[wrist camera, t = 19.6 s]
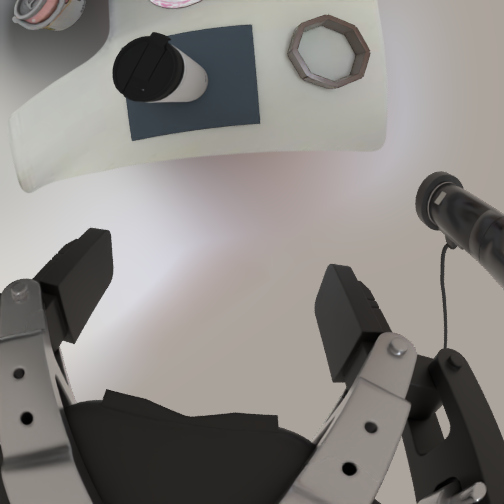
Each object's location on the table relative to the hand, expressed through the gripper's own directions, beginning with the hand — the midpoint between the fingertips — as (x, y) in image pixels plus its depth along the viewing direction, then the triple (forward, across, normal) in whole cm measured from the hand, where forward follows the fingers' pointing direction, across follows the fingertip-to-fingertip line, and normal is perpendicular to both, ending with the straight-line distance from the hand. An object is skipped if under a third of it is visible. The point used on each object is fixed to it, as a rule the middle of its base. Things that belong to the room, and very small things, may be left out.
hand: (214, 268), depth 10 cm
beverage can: (+36, +34, -22) cm, 54 cm away
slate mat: (+36, +9, -8) cm, 38 cm away
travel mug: (+35, +9, -8) cm, 37 cm away
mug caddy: (+36, -10, -16) cm, 41 cm away
